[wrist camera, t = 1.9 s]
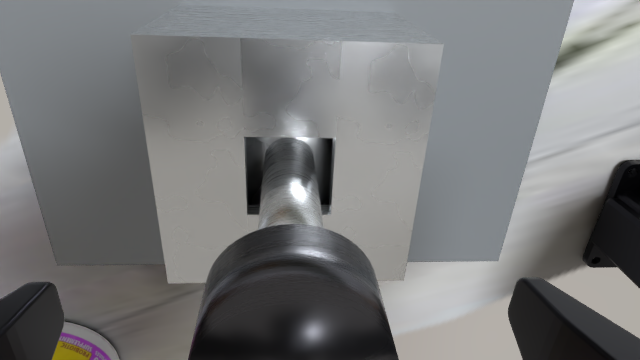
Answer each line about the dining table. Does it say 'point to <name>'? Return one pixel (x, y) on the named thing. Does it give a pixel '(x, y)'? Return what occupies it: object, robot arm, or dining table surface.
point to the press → (284, 121)
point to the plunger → (291, 271)
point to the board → (150, 3)
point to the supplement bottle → (83, 345)
